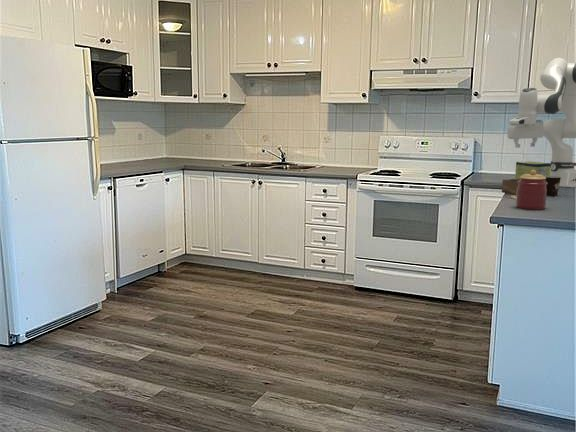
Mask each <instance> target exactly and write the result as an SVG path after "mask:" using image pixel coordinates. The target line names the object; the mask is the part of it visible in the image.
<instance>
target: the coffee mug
mask: <svg viewBox="0 0 576 432" xmlns="http://www.w3.org/2000/svg"><path fill="white" fill-rule="evenodd" d="M544 177H546V179H545V181H546V182H547V183H548V184H547V185H546V189H547V193H546V197H557V196H558V192H559V188H560V186H559V184H560V179H561V177H560V176H544Z"/></svg>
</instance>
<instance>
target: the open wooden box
mask: <svg viewBox="0 0 576 432" xmlns="http://www.w3.org/2000/svg"><path fill="white" fill-rule="evenodd" d="M519 180H520V179H515V178H513V179H509V178H508V179H502V185H501V193H503V194H509V195H511V196H513V195H516V192H517V188H518V183H517V182H518V181H519Z"/></svg>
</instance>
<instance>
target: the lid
mask: <svg viewBox="0 0 576 432" xmlns="http://www.w3.org/2000/svg"><path fill="white" fill-rule="evenodd" d="M504 197H505V198H509V199H513V200H516V199H517V192H516V195H505V196H504Z"/></svg>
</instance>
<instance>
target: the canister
mask: <svg viewBox="0 0 576 432" xmlns="http://www.w3.org/2000/svg"><path fill="white" fill-rule="evenodd" d="M520 178H521V179H520V180H519V181H518V182H517V183H518V188H517V199H515V200H516V201H515V207H516V208H519V209H522V210H523V209H524V210H544V209H546V206H547V196H546V193H547V189H546V185H547V184H548V183H547V182H546V181H545V179H546V177H544V176H543V175H540V174H536V171H535V170H531V171H530V174H523V175H522V176H520Z"/></svg>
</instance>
